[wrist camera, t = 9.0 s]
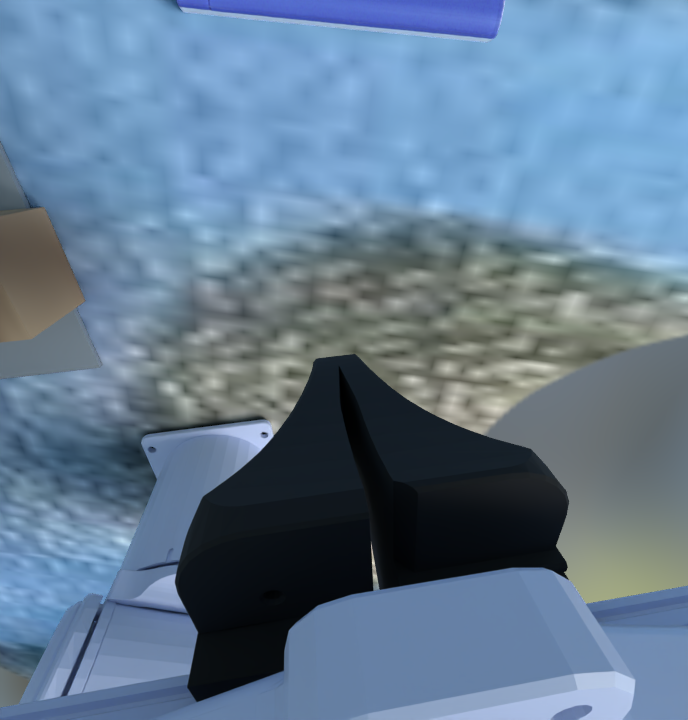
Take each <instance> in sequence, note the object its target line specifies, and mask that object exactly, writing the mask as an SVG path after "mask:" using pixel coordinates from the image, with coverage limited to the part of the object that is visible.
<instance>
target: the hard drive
mask: <svg viewBox="0 0 688 720" xmlns="http://www.w3.org/2000/svg"><path fill="white" fill-rule="evenodd" d="M176 1H177V4H178V6H179V7H180V9H181V10H182V11H183V12H184V13H194V14H204V15H214V16H222V17H231V18H240V19H250V20H260V21H270V22H280V23H290V24H301V25H311V26H322V27H331V28H341V29H352V30H362V31H372V32H383V33H393V34H404V35H414V36H424V37H434V38H445V39H455V40H465V41H475V42H485V43H488V42H489V41H491V40H493V39H494V38H495V37H496V36H497V33H498V30H499V27H500V24H501V20H502V15H503V10H504V4H505V0H176Z"/></svg>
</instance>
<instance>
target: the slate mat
mask: <svg viewBox="0 0 688 720" xmlns="http://www.w3.org/2000/svg"><path fill="white" fill-rule="evenodd" d="M27 208H30V205H29V203H28V201H27V199H26V197H25V194H24V192H23V190H22V188H21V186H20V183H19V181H18V179H17V177H16V175H15V172H14V170H13V168H12V166H11V164H10V162H9V159H8V157H7V155H6V153H5V151H4V148H3V146H2V144H1V142H0V211H3V210H15V209H27ZM101 366H102V363H101V361H100V359H99V357H98V355H97V352H96V350H95V348H94V346H93V344H92V341H91V339H90V337H89V335H88V333H87V330H86V328H85V326H84V324H83V322H82V319H81V317H80V315H79V313H78V311H77V308H75V309H74V310H72V311H71V312H69V313H68V314H66V315H65V316H64V317H62V318H61V319H59V320H58V321H57V322H55V323H54V324H52V325H51V326H49V327H48V328H47V329H45V330H44V331H42V332H41V333H40V334H38V335H37V336H35V337H34V338H32V339H28V340H19V341H10V342H1V343H0V379H5V378H14V377H23V376H31V375H40V374H49V373H58V372H66V371H75V370H84V369H92V368H100V367H101Z"/></svg>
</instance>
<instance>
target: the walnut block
mask: <svg viewBox="0 0 688 720" xmlns="http://www.w3.org/2000/svg"><path fill="white" fill-rule="evenodd" d="M83 302H85V299H84V296H83V294H82V292H81V290H80V287H79V285H78V283H77V280H76V278H75V276H74V274H73V271H72V269H71V267H70V265H69V262H68V260H67V258H66V255H65V253H64V251H63V249H62V246H61V244H60V242H59V240H58V237H57V235H56V233H55V230H54V228H53V226H52V224H51V221H50V219H49V217H48V215H47V212H46V210H45V208H44V207H39V208H27V209H15V210H3V211H0V343H1V342H10V341H19V340H28V339H32V338H34V337H35V336H37V335H38V334H40V333H41V332H42V331H44V330H45V329H47V328H48V327H49V326H51V325H52V324H54V323H55V322H57V321H58V320H59V319H61V318H62V317H64V316H65V315H66V314H68V313H69V312H71V311H72V310H74V309H75V308H76V307H78V306H79V305H81V304H82V303H83Z"/></svg>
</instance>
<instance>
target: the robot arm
mask: <svg viewBox="0 0 688 720" xmlns="http://www.w3.org/2000/svg"><path fill="white" fill-rule="evenodd" d="M262 432H266V433H268V434H262ZM141 445H142V447H143V449H144V452H145V454H146V456H147V458H148V460H149V463H150V465H151V467H152V469H153V471H154V474H155V476H156V478H157V482H156V484H155V486H154V489H153V491H152V494H151V496H150V498H149V501H148V503H147V506H146V508H145V510H144V513H143V515H142V518H141V520H140V522H139V525H138V527H137V530H136V532H135V534H134V537H133V539H132V542H131V544H130V546H129V549H128V551H127V554H126V556H125V559H124V561H123V563H122V566H121V568H120V570H119V571H118V573H117V575H116V578H115V580H114V582H113V584H112V586H111V588H110V591H109V593H108V595H107V597H106V599H105V601H104V603H103V604H100V602H101V600H102V597H103V596H102V595H98V594H93V593H92V594H88V595H87V596H86V597H85V598H84V600H83V601H80V602H78V603H76V604H75V605H73V606H71V607H70V608H68V609H67V611H66V612H65V614H64V615H63V617H62V619H61V621H60V623H59V624H58V626H57V628H56V630H55V632H54V634H53V636H52V638H51V640H50V642H49V644H48V646H47V648H46V650H45V652H44V654H43V655H42V657H41V659H40V661H39V663H38V666H37V668H36V670H35V672H34V674H33V676H32V678H31V680H30V682H29V684H28V686H27V688H26V690H25V692H24V694H23V696H22V698H21V700H20V702H19V704H18V705H13V706H6V707H1V708H0V720H688V586H684V587H678V588H672V589H667V590H661V591H656V592H650V593H644V594H638V595H633V596H627V597H622V598H616V599H611V600H605V601H599V602H593V603H588V604H586V603H585V602H584V601H583V599H582V597H581V596H580V594H579V593H578V591H577V590H576V588H575V587H574V585H573V584H572V582H571V581H569V579H568V578H567V576H566V575H565V573H564V572H565V571H566V570H567V568H568V567H567V563H566V561H565V559H564V558H563V556H562V555H561V553H560V552H559V551H558V549H557V547H556V544H557V541H558V538H559V535H560V533H561V530H562V527H563V524H564V521H565V518H566V515H567V510H568V505H569V500H568V496H567V492H566V490H565V489H564V488H563V486H562V485H561V484H560V483H559V482H558V480H557V479H556V478H555V476H554V475H553V474H552V472H551V471H550V470H549V469H548V467H547V466H546V465H545V464H544V463H543V462H542V460H541V459H540V458H539V457H538V456H537V455H536V454H535V453H534V452H533V451H532V450H531V449H529V448H526V447H522V446H518V445H514V444H511V443H507V442H504V441H500V440H496V439H493V438H489V437H487V436H484V435H481V434H478V433H475V432H473V431H470V430H467V429H465V428H462V427H460V426H457V425H455V424H452V423H450V422H448V421H446V420H444V419H442V418H439V417H437V416H435V415H433V414H431V413H429V412H428V411H426V410H424V409H422V408H421V407H419V406H417V405H416V404H414V403H412V402H410V401H409V400H407V399H406V398H404V397H403V396H402V395H400V394H399V393H397V392H396V391H395V390H393V389H392V388H391V387H390V386H388V385H387V384H386V383H385V382H384V381H383V380H381V379H380V378H379V377H378V376H377V375H376V374H375V373H374V372H373V371H372V370H371V369H370V368H369V367H368V366H367V365H366V364H365V363H364V362H363V361H362V360H361V359H360V358H359V357H358V356H357V355H355V354H351V355H343V356H335V357H326V358H318V359H316V360H315V361H314V362H313V368H312V371H311V374H310V377H309V380H308V382H307V384H306V386H305V389H304V391H303V393H302V395H301V397H300V398H299V400H298V402H297V404H296V405H295V407H294V409H293V411H292V412H291V414H290V415H289V417H288V418H287V420H286V421H285V422H284V424H283V425H282V426H281V428H280V429H279V430H278V432H277V433H276V434H275V435H274V436H273V431H272V426H271V423H270V422H269V421H268V420H254V421H247V422H239V423H231V424H223V425H216V426H208V427H200V428H192V429H185V430H177V431H169V432H162V433H154V434H148V435H145V436H144V437H143V439H142V441H141ZM151 447H154V448H156V449H153V448H151ZM371 544H372V549H373V555H374V560H375V566H376V572H377V577H378V583H379V589H380V590H376V591H373V575H372V554H371ZM94 621H95V622H94Z"/></svg>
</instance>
